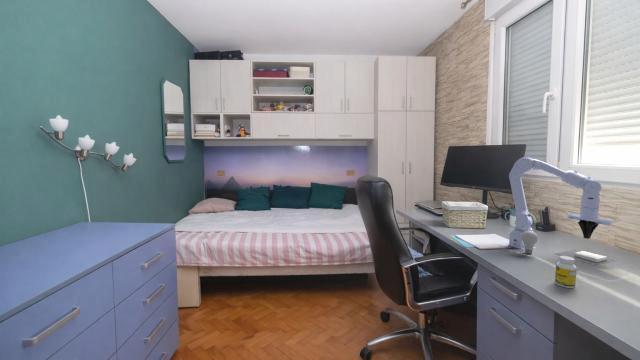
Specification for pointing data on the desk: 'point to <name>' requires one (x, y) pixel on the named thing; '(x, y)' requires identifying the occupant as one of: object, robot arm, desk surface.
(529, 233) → the lightbulb
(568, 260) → the supplement bottle
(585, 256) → the tile
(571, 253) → the mat
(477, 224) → the storage basket
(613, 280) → the desk surface
